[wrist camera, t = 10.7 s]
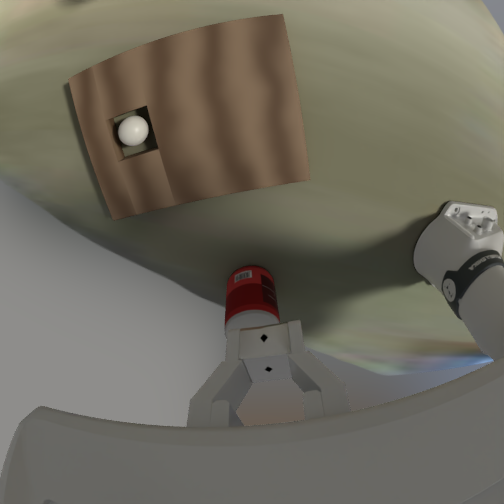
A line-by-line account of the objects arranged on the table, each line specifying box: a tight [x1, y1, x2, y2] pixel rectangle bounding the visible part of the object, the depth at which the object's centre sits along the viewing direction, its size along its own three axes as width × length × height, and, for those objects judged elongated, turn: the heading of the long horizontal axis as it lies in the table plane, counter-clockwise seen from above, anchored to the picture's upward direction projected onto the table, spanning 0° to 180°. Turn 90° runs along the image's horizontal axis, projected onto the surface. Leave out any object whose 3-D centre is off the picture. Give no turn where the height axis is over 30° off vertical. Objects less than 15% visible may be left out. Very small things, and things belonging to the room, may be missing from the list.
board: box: [68, 14, 310, 221], centre depth 32 cm, size 28×22×2 cm
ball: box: [118, 116, 149, 146], centre depth 32 cm, size 4×4×4 cm
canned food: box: [225, 266, 280, 338], centre depth 43 cm, size 8×8×11 cm
